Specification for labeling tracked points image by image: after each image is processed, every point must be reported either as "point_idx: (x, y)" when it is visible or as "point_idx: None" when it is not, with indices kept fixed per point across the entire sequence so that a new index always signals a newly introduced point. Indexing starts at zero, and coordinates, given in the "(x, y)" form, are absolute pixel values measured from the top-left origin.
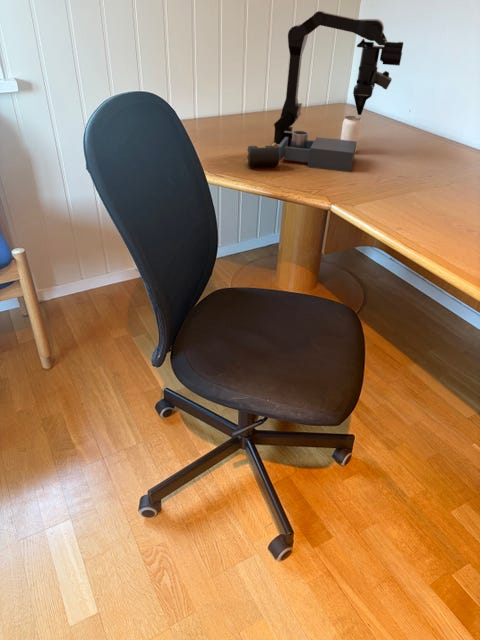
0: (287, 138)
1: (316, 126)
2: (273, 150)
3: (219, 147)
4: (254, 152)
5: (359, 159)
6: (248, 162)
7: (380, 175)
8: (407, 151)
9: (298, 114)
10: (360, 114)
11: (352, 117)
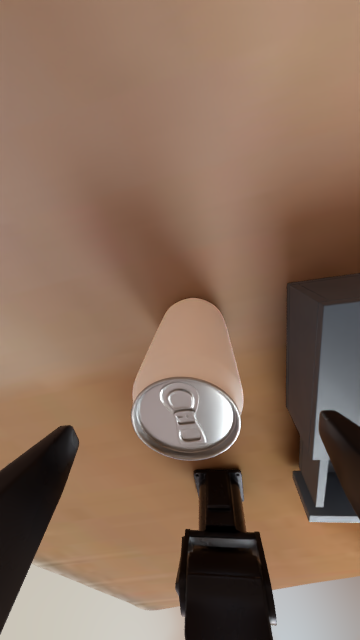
0: (326, 515)
1: (5, 449)
2: None
3: (305, 562)
4: None
5: (274, 263)
6: None
7: None
8: (31, 67)
9: (232, 590)
10: (338, 416)
11: (149, 423)
